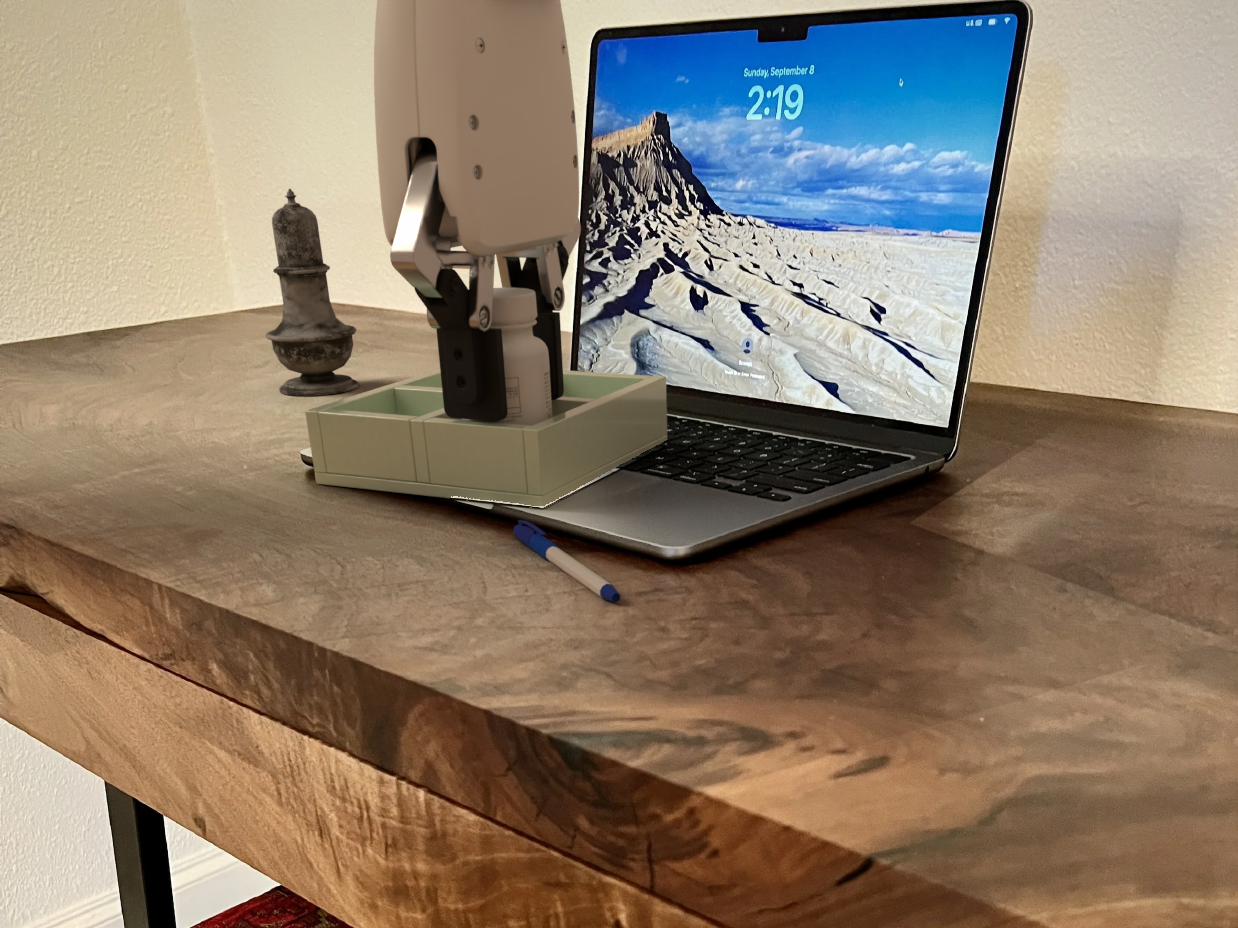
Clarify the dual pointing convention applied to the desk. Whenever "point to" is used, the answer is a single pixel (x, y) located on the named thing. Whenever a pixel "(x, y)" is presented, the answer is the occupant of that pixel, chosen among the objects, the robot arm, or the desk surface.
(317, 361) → the salt shaker
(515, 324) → the pill bottle
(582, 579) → the ballpoint pen
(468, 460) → the tray
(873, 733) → the desk surface
